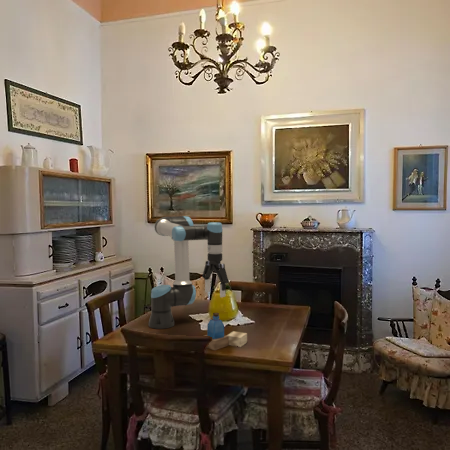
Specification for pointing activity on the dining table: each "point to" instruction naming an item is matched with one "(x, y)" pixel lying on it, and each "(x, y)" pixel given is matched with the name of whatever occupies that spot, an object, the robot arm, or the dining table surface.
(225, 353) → the dining table surface
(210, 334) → the blue carton
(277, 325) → the dining table surface
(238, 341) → the beech block
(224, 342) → the walnut block
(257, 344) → the dining table surface
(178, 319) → the dining table surface
